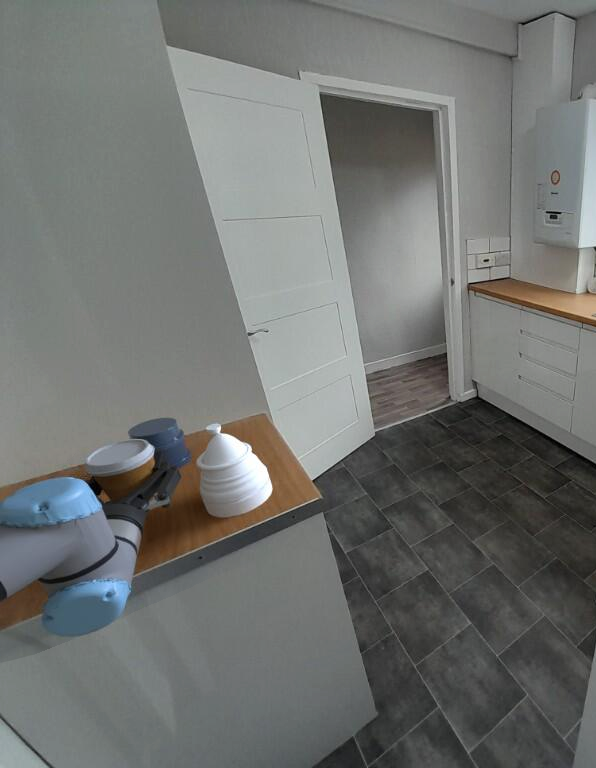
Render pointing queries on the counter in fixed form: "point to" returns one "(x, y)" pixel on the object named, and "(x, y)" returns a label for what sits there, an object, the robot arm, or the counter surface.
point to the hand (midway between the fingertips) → (132, 463)
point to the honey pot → (231, 476)
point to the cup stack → (164, 439)
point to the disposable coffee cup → (121, 466)
